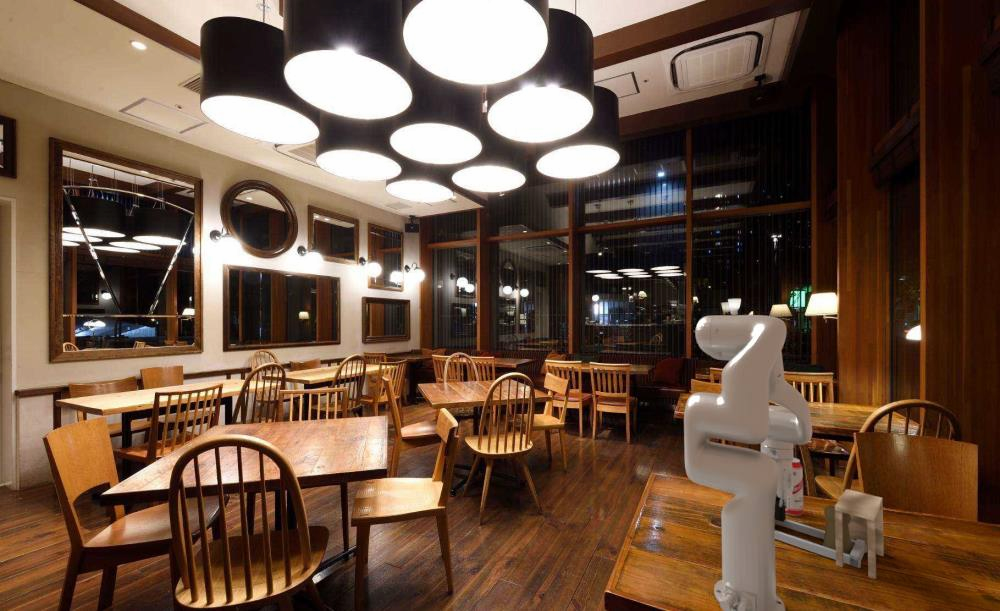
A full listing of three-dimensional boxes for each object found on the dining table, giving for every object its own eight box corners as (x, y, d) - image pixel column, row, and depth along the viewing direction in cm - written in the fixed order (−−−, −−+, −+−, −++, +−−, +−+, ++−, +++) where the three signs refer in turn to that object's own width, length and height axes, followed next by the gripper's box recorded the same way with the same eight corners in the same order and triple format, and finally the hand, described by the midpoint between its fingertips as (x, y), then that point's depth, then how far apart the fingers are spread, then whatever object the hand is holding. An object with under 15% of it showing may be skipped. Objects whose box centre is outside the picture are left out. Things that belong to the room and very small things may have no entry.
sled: (866, 551, 104) (866, 527, 104) (859, 568, 97) (859, 542, 97) (771, 520, 119) (770, 499, 119) (759, 533, 112) (758, 511, 112)
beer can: (773, 510, 126) (772, 457, 127) (786, 506, 129) (785, 454, 129) (795, 519, 120) (794, 464, 121) (808, 514, 123) (807, 460, 123)
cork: (860, 560, 100) (859, 514, 100) (832, 558, 101) (831, 513, 101) (843, 546, 106) (842, 503, 106) (817, 544, 107) (816, 502, 107)
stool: (883, 554, 103) (882, 497, 103) (875, 579, 93) (874, 516, 93) (847, 542, 108) (846, 488, 108) (836, 565, 98) (834, 505, 99)
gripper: (784, 461, 106) (785, 534, 106) (800, 449, 116) (801, 515, 115) (751, 454, 112) (753, 523, 111) (770, 443, 122) (771, 506, 121)
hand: (777, 519), depth 113 cm, fingers closed
